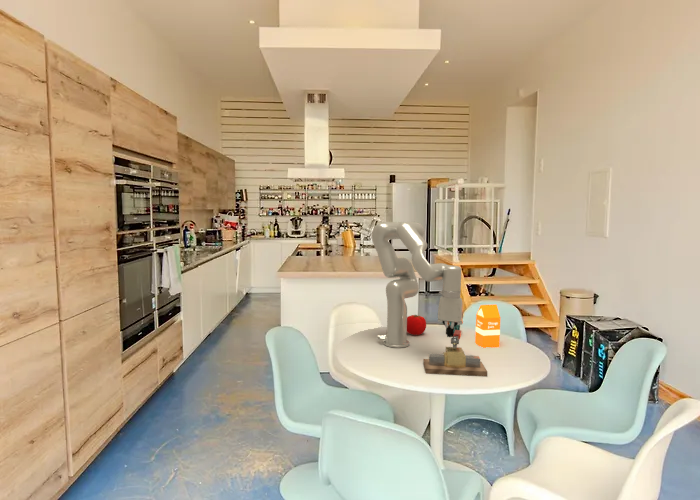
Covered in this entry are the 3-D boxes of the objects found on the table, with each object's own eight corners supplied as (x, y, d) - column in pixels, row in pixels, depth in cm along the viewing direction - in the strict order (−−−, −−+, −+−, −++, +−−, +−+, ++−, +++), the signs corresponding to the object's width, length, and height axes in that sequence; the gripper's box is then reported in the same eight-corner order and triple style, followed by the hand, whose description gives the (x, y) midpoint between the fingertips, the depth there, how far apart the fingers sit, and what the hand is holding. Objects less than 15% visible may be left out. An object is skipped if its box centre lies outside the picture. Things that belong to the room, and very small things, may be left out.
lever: (450, 344, 178) (450, 337, 178) (454, 334, 194) (454, 328, 193) (458, 345, 177) (458, 338, 177) (461, 335, 192) (462, 328, 192)
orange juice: (499, 347, 212) (501, 306, 210) (482, 348, 210) (484, 306, 209) (491, 342, 220) (492, 302, 218) (474, 343, 218) (476, 303, 216)
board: (425, 373, 175) (425, 368, 175) (423, 363, 187) (423, 358, 187) (487, 376, 173) (487, 371, 173) (480, 366, 185) (481, 361, 185)
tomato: (406, 337, 227) (406, 317, 226) (401, 331, 238) (402, 312, 237) (428, 337, 228) (429, 317, 227) (423, 331, 239) (424, 312, 238)
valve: (430, 366, 178) (430, 345, 177) (428, 361, 184) (429, 341, 183) (480, 368, 176) (481, 347, 175) (477, 363, 182) (478, 343, 182)
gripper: (431, 294, 189) (430, 336, 190) (467, 297, 182) (465, 341, 184) (436, 291, 195) (434, 332, 197) (470, 294, 189) (468, 336, 190)
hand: (449, 336), depth 190 cm, fingers closed
